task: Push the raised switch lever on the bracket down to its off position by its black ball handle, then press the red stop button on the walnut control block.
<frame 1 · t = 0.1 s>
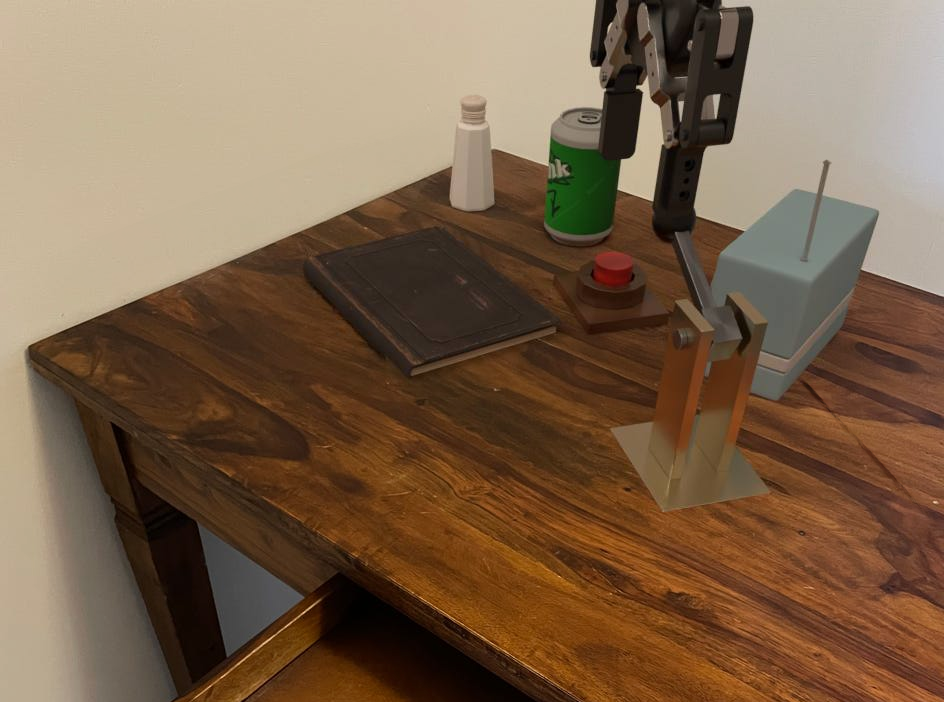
hand: (642, 184, 56), 24 cm above the table, tool pointing down, fingers open, 8 cm apart
radio: (761, 358, 88), on the table
stop button: (613, 269, 89), point 5 cm above the table, slide at 0.2 cm
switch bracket: (685, 471, 76), on the table
pepper shaker: (471, 204, 110), on the table
hardcover book: (426, 312, 93), on the table
soda can: (577, 236, 104), on the table
stop block: (607, 314, 93), on the table
switch lever: (694, 274, 68), point 14 cm above the table, hinge at 25.0°
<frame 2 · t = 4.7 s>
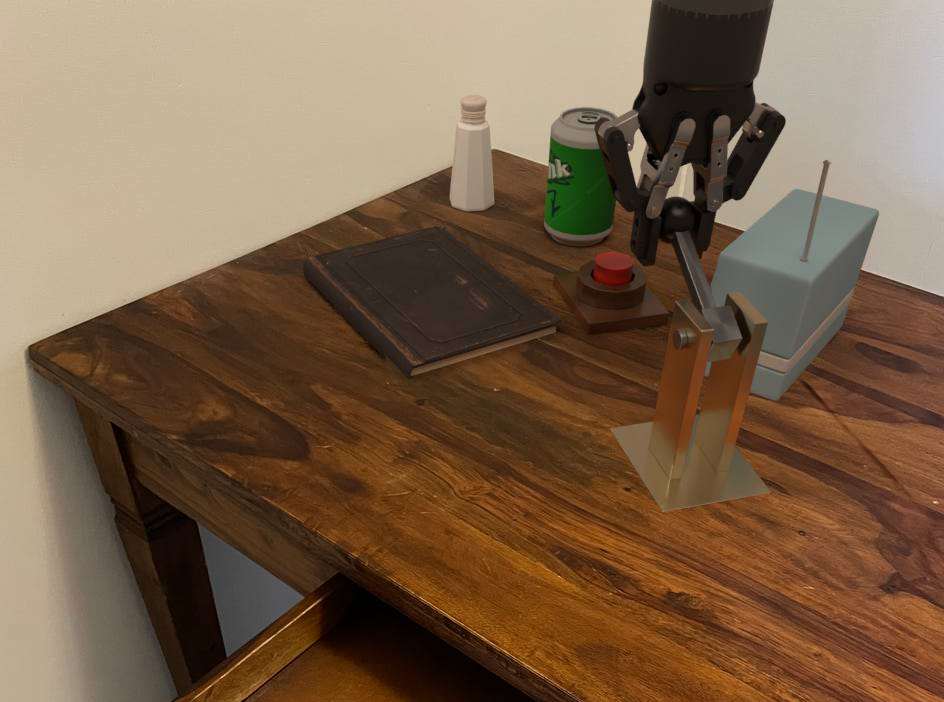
hand: (667, 257, 72), 13 cm above the table, tool pointing down, fingers closed on switch lever, 3 cm apart
switch lever: (694, 275, 68), point 14 cm above the table, hinge at 24.9°, touching gripper
everything else where it was.
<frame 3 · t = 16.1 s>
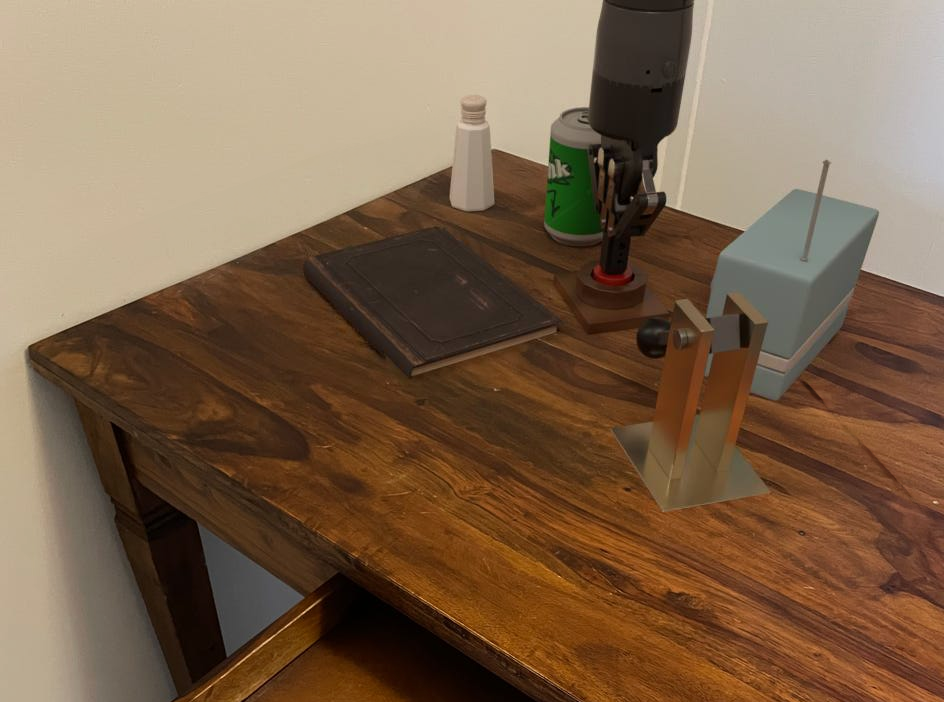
hand: (612, 270, 89), 4 cm above the table, tool pointing down, fingers closed
stop button: (611, 279, 90), point 4 cm above the table, slide at -0.8 cm, touching gripper
switch lever: (683, 336, 72), point 9 cm above the table, hinge at -30.5°
everything else where it was.
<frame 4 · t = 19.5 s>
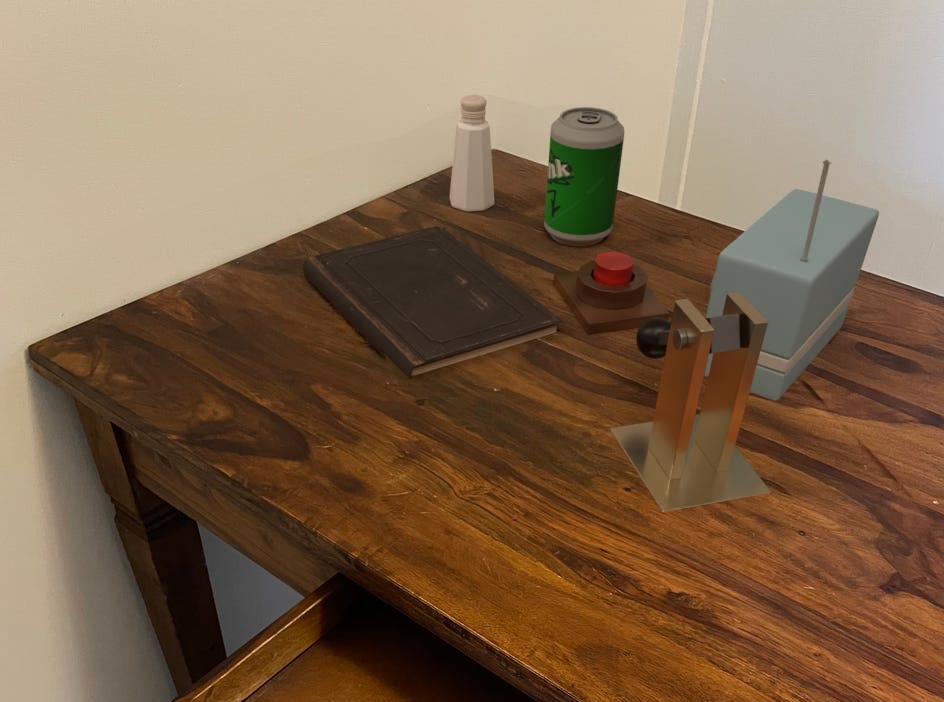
stop button: (613, 269, 89), point 5 cm above the table, slide at 0.1 cm
everything else where it was.
at the end: switch lever at -30° (first picture: +25°); stop button pushed in 1.1 cm at the most during the clip, back to where it started at the end; stop button slide at 0.1 cm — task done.
